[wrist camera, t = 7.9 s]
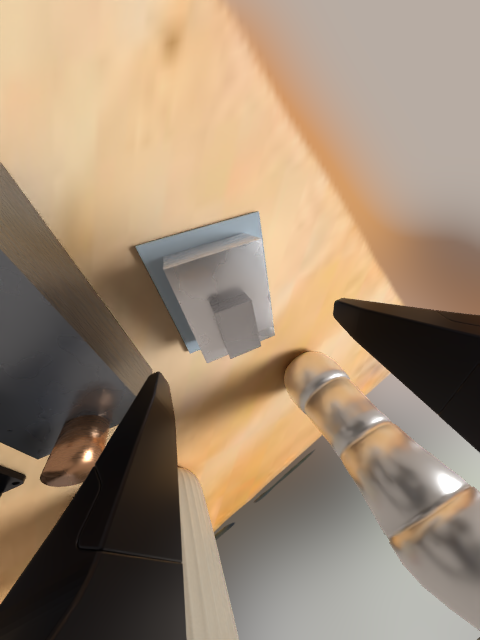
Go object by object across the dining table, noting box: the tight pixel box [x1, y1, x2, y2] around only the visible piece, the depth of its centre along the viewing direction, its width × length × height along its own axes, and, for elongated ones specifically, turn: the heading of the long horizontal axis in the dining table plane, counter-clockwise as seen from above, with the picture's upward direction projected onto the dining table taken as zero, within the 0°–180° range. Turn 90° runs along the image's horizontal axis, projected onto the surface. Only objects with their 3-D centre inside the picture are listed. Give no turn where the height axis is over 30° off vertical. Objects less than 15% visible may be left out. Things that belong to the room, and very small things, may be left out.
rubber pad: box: [135, 211, 273, 353], centre depth 14 cm, size 9×8×1 cm
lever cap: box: [163, 232, 275, 363], centre depth 12 cm, size 7×5×4 cm
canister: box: [178, 467, 239, 640], centre depth 17 cm, size 18×18×21 cm
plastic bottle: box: [284, 351, 480, 631], centre depth 15 cm, size 6×7×20 cm
